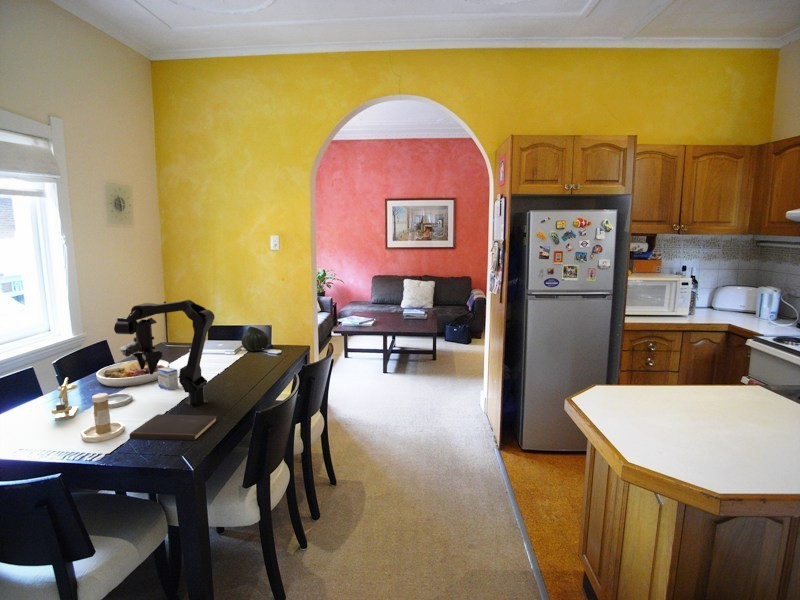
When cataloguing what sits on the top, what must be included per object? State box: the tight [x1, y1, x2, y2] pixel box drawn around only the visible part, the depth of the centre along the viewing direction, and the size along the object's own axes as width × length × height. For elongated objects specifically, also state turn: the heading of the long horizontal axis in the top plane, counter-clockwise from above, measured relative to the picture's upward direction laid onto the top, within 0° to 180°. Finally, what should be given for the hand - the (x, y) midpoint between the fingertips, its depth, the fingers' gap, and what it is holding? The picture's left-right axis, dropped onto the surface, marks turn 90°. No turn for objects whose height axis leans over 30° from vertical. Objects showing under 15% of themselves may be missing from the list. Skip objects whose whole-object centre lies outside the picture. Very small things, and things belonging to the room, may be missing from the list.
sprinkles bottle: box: [91, 392, 111, 434], centre depth 150 cm, size 5×5×13 cm
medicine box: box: [157, 367, 179, 391], centre depth 196 cm, size 8×4×9 cm, turn 62°
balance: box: [51, 377, 79, 422], centre depth 166 cm, size 19×6×13 cm, turn 27°
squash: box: [241, 326, 269, 352], centre depth 258 cm, size 14×15×15 cm
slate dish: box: [108, 392, 134, 409], centre depth 178 cm, size 12×12×2 cm
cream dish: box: [80, 421, 125, 443], centre depth 151 cm, size 12×12×2 cm
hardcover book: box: [129, 413, 218, 441], centre depth 155 cm, size 16×23×2 cm
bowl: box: [95, 359, 170, 388], centre depth 209 cm, size 30×30×8 cm
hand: (146, 371), depth 177 cm, fingers open, 9 cm apart
